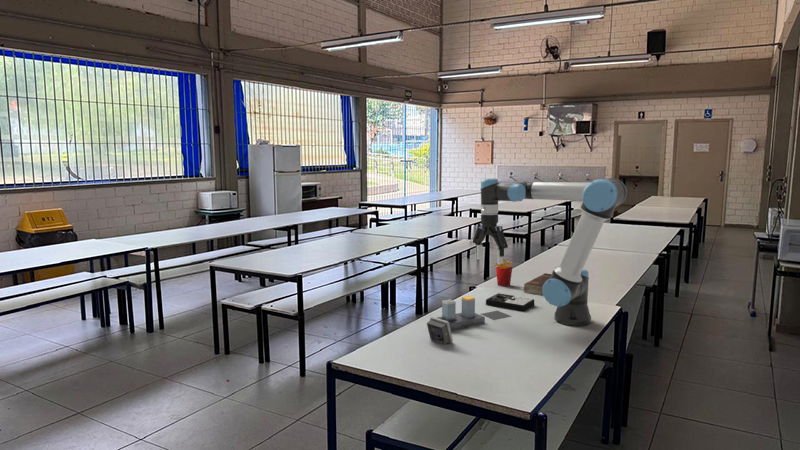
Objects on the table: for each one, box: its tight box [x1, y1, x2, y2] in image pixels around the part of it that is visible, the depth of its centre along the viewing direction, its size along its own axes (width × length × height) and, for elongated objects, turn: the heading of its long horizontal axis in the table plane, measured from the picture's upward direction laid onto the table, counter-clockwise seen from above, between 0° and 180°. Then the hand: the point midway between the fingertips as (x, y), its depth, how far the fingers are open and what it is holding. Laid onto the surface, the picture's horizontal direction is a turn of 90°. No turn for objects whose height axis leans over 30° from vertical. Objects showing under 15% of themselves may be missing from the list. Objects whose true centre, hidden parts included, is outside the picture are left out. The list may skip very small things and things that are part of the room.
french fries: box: [494, 257, 514, 287], centre depth 291 cm, size 9×8×15 cm
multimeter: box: [485, 293, 535, 312], centre depth 253 cm, size 13×19×5 cm
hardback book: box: [523, 272, 552, 296], centre depth 282 cm, size 29×19×5 cm, turn 144°
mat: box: [480, 310, 512, 321], centre depth 238 cm, size 10×10×1 cm
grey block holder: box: [435, 299, 486, 332], centre depth 226 cm, size 10×20×11 cm, turn 119°
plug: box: [461, 295, 476, 318], centre depth 228 cm, size 4×4×10 cm
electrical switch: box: [426, 316, 454, 345], centre depth 206 cm, size 9×5×9 cm, turn 44°
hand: (489, 261), depth 238 cm, fingers open, 13 cm apart
